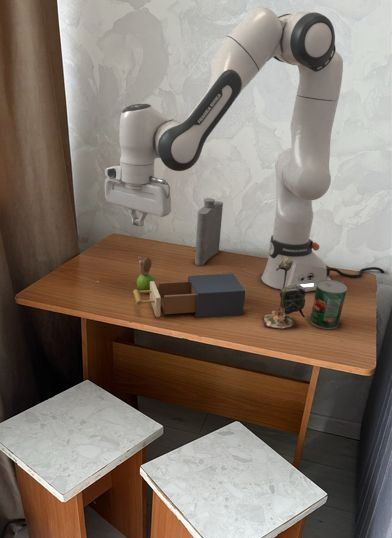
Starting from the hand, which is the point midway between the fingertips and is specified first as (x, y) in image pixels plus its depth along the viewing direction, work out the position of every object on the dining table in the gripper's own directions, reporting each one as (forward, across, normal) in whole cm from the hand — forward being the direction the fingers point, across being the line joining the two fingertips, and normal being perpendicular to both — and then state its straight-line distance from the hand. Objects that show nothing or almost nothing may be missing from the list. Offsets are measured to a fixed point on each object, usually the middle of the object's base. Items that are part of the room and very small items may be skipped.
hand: (137, 225), depth 136 cm
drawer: (+19, -13, +4) cm, 24 cm away
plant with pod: (+20, -42, -10) cm, 48 cm away
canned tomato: (+20, -51, -18) cm, 58 cm away
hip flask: (+20, -1, -36) cm, 41 cm away
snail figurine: (+20, -2, -1) cm, 20 cm away
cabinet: (+20, -23, -6) cm, 31 cm away
